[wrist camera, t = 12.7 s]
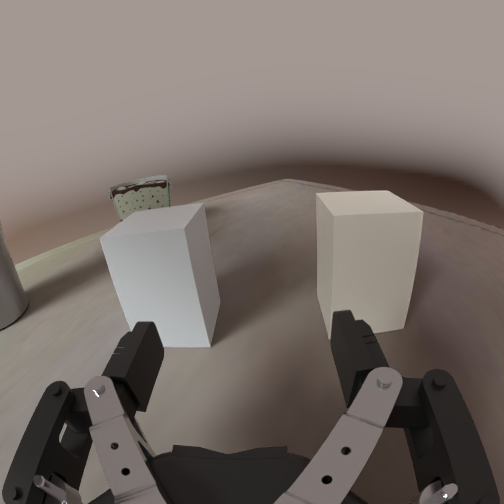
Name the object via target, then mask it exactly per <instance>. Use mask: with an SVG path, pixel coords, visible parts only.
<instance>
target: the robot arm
mask: <svg viewBox="0 0 504 504" xmlns="http://www.w3.org/2000/svg"><path fill="white" fill-rule="evenodd" d="M28 302H29V301H28V299H27V296H26V294H25V292H24V289H23V287H22V284H21V282H20V279H19V277H18V274H17V271H16V269H15V266H14V263H13V261H12V258H11V255H10V252H9V249H8V246H7V242H6V239H5V236H4V232H3V229H2V225H1V222H0V329H2V328H4V327H6V326H8V325H9V324H11V323H13V322H14V321H15V320H16V319H18V318H19V317H20V316H21V315H22V314H23V312H24V311H25V310H26V308H27V306H28ZM331 350H332V354H333V357H334V361H335V365H336V368H337V372H338V376H339V379H340V383H341V387H342V391H343V395H344V399H345V402H346V406H347V408H349V407H350V408H349V410H348V411H347V413H344V414H343V415H342V416H341V418H340V419H339V421H338V422H337V424H336V426H335V427H334V429H333V430H332V432H331V433H330V435H329V436H328V438H327V439H326V440H325V442H324V443H323V445H322V446H321V448H320V449H319V450H318V452H317V453H316V455H315V456H314V457H313V459H312V460H310V459H308V458H306V457H303V456H300V455H296V454H291V453H287V446H285V447H269V448H256V449H251V450H247V451H243V452H238V453H233V454H224V453H220V452H216V451H212V450H208V449H205V448H201V447H193V446H181V445H173V450H172V452H168V453H163V454H160V455H157V456H156V454H155V453H154V452H153V450H152V448H151V447H150V445H149V443H148V441H147V439H146V437H145V435H144V433H143V431H142V429H141V427H140V425H139V423H138V421H137V419H136V418H135V413H136V411H142V412H146V409H147V406H148V403H149V399H150V396H151V393H152V390H153V387H154V384H155V381H156V378H157V376H158V373H159V370H160V367H161V364H162V361H163V358H164V347H163V344H162V341H161V339H160V336H159V333H158V330H157V327H156V325H155V323H154V322H153V321H138V322H137V323H136V324H135V326H134V328H133V330H132V332H128V333H127V334H125V335H124V336H123V337H122V338H121V340H120V341H119V343H118V345H117V348H116V349H115V351H114V354H112V356H111V358H110V360H109V362H108V364H107V366H106V368H105V370H104V372H103V374H102V376H97V377H94V378H92V379H91V380H90V381H88V382H87V384H86V385H85V387H84V388H76V389H70V388H69V386H68V385H67V383H65V382H63V381H56V382H54V383H52V384H50V385H49V386H48V387H47V388H46V390H45V392H44V394H43V396H42V398H41V400H40V402H39V403H38V405H37V407H36V409H35V412H34V414H33V416H32V418H31V420H30V422H29V424H28V426H27V428H26V431H25V433H24V435H23V437H22V440H21V442H20V444H19V447H18V449H17V451H16V454H15V456H14V459H13V461H12V464H11V466H10V469H9V472H8V475H7V477H6V480H5V483H4V486H3V490H2V495H3V499H4V502H5V503H6V504H83V503H82V502H81V496H80V494H79V492H78V490H79V487H80V483H81V479H82V476H83V472H84V468H85V465H86V462H87V458H88V455H89V452H90V448H91V445H92V442H93V443H94V446H95V449H96V452H97V455H98V458H99V461H100V463H101V466H102V469H103V471H104V474H105V476H106V479H107V481H108V483H109V486H110V489H109V490H107V491H106V492H104V493H103V494H102V495H100V496H99V497H97V498H96V499H94V500H93V501H91V502H90V503H88V504H368V503H367V502H365V501H364V500H363V499H361V498H360V497H359V496H357V495H356V494H355V493H353V492H352V491H351V490H350V489H351V487H352V485H353V484H354V482H355V481H356V479H357V477H358V476H359V474H360V472H361V471H362V469H363V467H364V465H365V464H366V462H367V460H368V458H369V456H370V455H371V453H372V451H373V449H374V447H375V445H376V443H377V441H378V439H379V437H380V435H381V433H382V431H383V429H384V427H394V428H404V431H405V435H406V438H407V442H408V446H409V450H410V454H411V458H412V462H413V466H414V471H415V475H416V480H417V484H418V489H419V493H418V494H417V495H415V496H414V497H413V498H412V500H411V501H410V503H409V504H500V499H499V495H498V491H497V488H496V484H495V481H494V477H493V474H492V471H491V468H490V465H489V462H488V459H487V456H486V453H485V450H484V448H483V445H482V442H481V440H480V437H479V435H478V432H477V430H476V427H475V425H474V422H473V420H472V418H471V415H470V413H469V411H468V408H467V406H466V404H465V402H464V400H463V398H462V395H461V393H460V391H459V389H458V387H457V385H456V383H455V381H454V379H453V377H452V376H451V375H450V374H449V373H448V372H446V371H444V370H440V369H434V370H431V371H429V372H427V373H426V374H425V376H424V377H423V379H417V378H404V377H401V375H400V374H399V373H398V372H397V371H396V370H394V369H392V368H390V367H389V365H388V363H387V361H386V359H385V356H384V354H383V352H382V350H381V348H380V345H379V343H377V339H376V337H375V336H374V333H373V331H372V329H371V326H370V325H368V324H367V323H366V322H365V321H364V320H363V319H361V320H355V318H354V316H353V314H352V312H351V310H342V311H334V312H333V316H332V328H331ZM64 423H66V424H67V427H66V430H65V432H64V435H63V437H62V440H61V443H60V442H59V435H60V433H61V430H62V428H63V425H64Z"/></svg>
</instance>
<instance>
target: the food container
mask: <svg viewBox="0 0 504 504" xmlns="http://www.w3.org/2000/svg"><path fill="white" fill-rule="evenodd" d="M169 186H170V187H171V188H172V184H171V181H170V179H168V176H166V175H162V176H153V177H147V178H142V179H138V180H133V181H129V182H126V183H123V184H119V185H116V186H114V187H111V188H110V192H109V200H110V199H112V200H113V203H114V206H115V210H116V213H117V216H118V219H119V222H122V221H123V220H124V219H126V218H127V217H128V216H130V215H131V214H133V213H134V212H136V211H143V210H150V209H157V208H165V207H170V195H169Z"/></svg>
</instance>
